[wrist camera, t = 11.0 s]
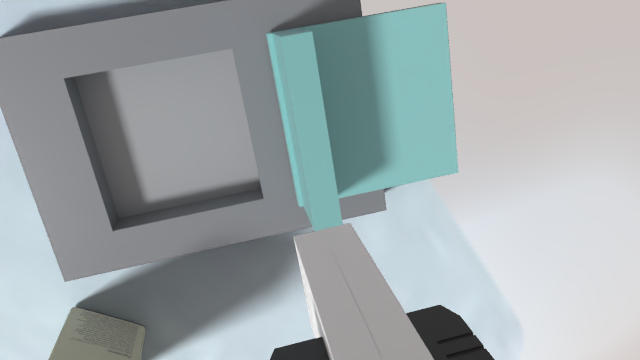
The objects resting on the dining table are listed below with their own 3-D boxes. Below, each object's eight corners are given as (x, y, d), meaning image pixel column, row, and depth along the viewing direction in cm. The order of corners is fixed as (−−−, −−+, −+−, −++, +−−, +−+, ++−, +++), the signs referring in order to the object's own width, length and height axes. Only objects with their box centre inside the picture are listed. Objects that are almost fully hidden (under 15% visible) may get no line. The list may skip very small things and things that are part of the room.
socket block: (75, 263, 33) (64, 281, 31) (-5, 39, 29) (-24, 42, 26) (375, 197, 36) (386, 209, 33) (347, -20, 31) (357, -22, 29)
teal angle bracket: (297, 201, 32) (310, 234, 27) (265, 33, 29) (274, 37, 24) (451, 167, 33) (489, 193, 28) (438, 3, 30) (479, 1, 25)
